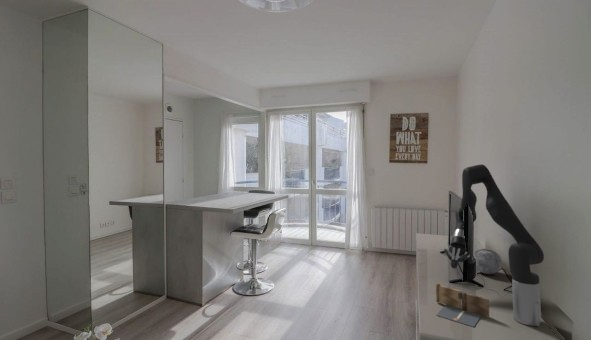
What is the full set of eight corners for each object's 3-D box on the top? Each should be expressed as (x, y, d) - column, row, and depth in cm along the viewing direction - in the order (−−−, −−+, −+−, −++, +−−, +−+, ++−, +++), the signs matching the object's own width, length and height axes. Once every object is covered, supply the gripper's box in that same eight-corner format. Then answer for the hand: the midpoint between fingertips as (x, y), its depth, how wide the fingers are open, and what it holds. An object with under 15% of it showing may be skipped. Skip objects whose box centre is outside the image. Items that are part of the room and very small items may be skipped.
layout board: (484, 311, 136) (484, 311, 136) (474, 327, 124) (473, 326, 124) (448, 302, 146) (448, 301, 146) (436, 315, 134) (436, 314, 134)
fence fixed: (489, 316, 132) (489, 298, 132) (488, 318, 130) (488, 300, 130) (462, 308, 139) (462, 291, 139) (461, 310, 138) (461, 293, 138)
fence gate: (462, 307, 139) (462, 289, 139) (461, 308, 138) (460, 290, 138) (437, 300, 147) (436, 283, 147) (435, 301, 146) (435, 284, 146)
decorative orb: (502, 272, 183) (501, 247, 182) (501, 279, 171) (500, 253, 171) (474, 267, 191) (473, 244, 191) (471, 274, 180) (470, 250, 180)
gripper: (445, 233, 166) (438, 261, 158) (472, 237, 157) (465, 266, 148) (448, 241, 170) (441, 268, 162) (475, 245, 161) (469, 274, 152)
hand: (453, 267), depth 155 cm, fingers closed
